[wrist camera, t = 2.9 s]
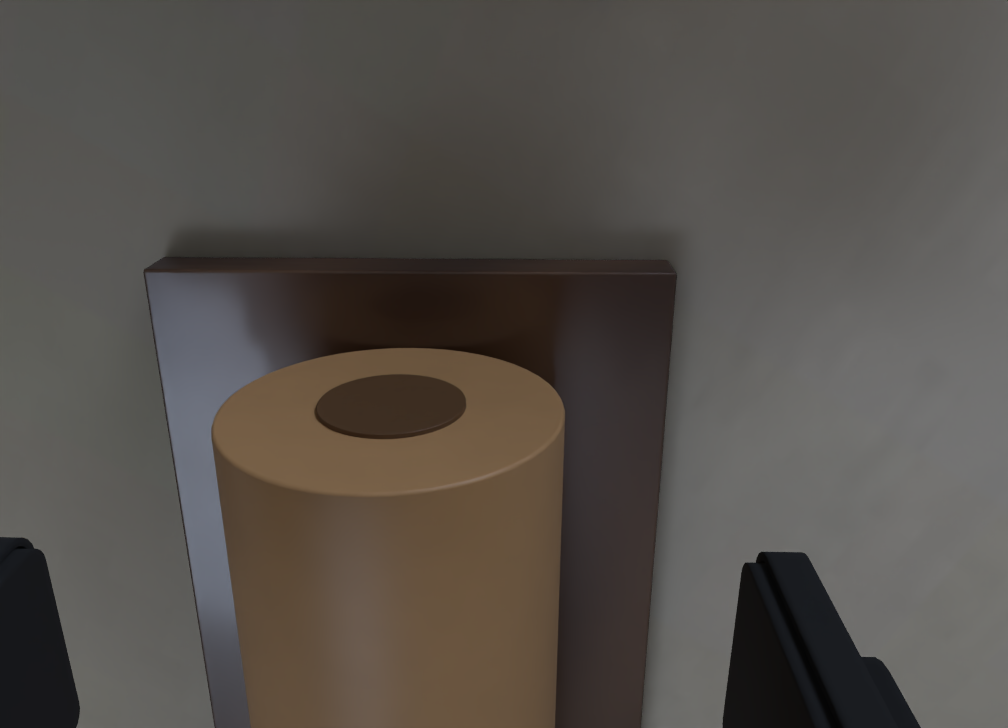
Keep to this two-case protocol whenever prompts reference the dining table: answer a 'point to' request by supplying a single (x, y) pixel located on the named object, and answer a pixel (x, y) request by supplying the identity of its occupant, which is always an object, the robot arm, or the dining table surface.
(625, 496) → the holder
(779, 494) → the dining table surface
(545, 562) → the paper roll
